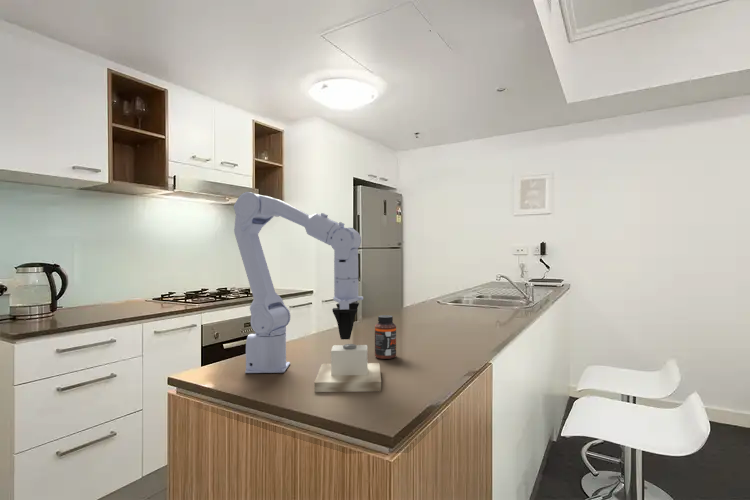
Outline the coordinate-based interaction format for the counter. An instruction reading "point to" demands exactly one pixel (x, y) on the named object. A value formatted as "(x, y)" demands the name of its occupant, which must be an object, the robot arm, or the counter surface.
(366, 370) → the housing
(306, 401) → the counter surface
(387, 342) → the supplement bottle
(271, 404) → the counter surface
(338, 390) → the stand
